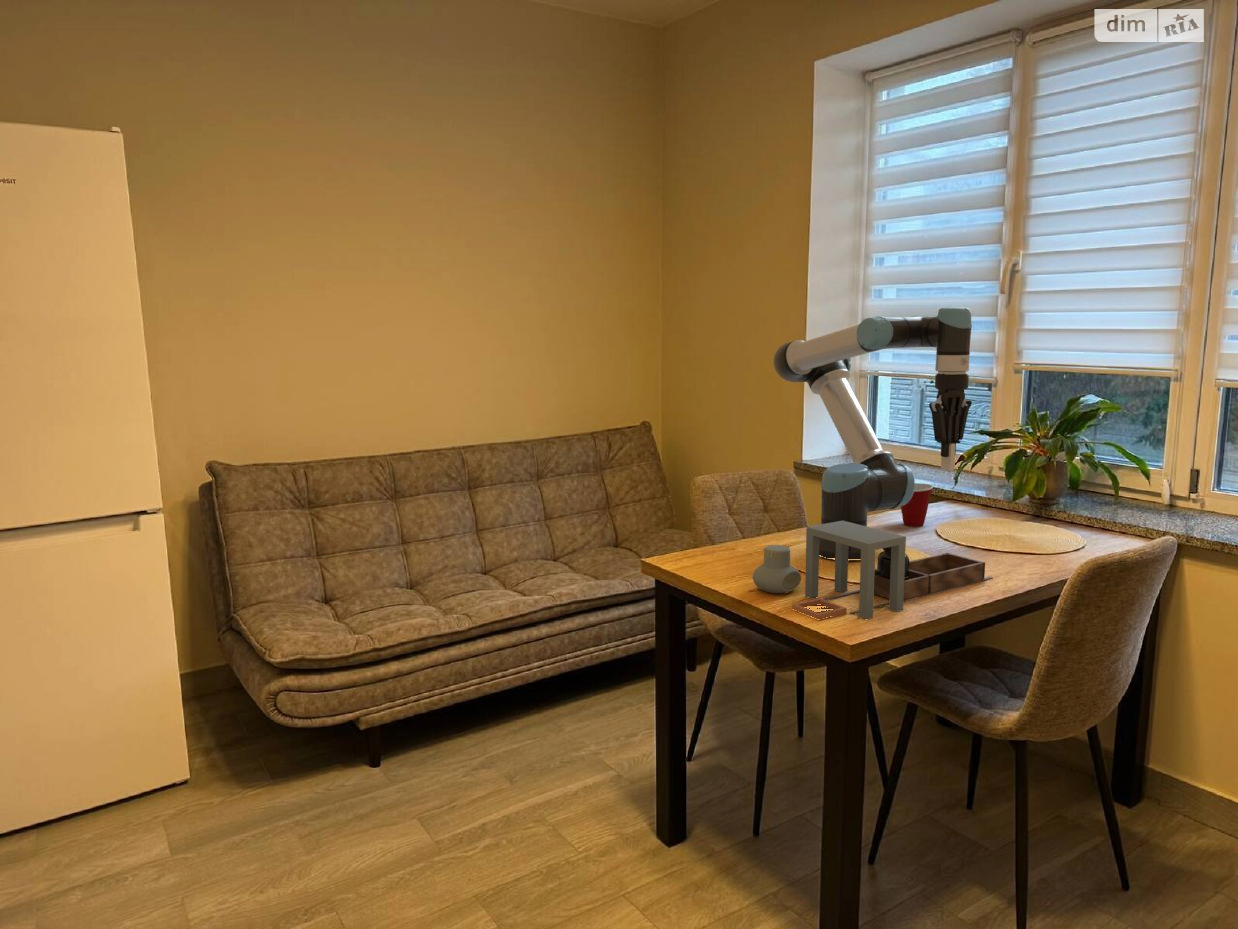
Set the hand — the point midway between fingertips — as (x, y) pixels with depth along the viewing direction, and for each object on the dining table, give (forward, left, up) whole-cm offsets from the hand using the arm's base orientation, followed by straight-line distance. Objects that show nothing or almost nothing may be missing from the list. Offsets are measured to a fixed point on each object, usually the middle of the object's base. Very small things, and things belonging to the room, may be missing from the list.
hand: (947, 469), depth 212 cm
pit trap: (+8, -50, -24) cm, 56 cm away
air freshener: (-8, -47, -25) cm, 54 cm away
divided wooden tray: (+8, -17, -24) cm, 30 cm away
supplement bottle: (+8, -27, -25) cm, 38 cm away
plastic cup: (-34, +29, -25) cm, 51 cm away
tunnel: (+8, -22, -24) cm, 34 cm away
